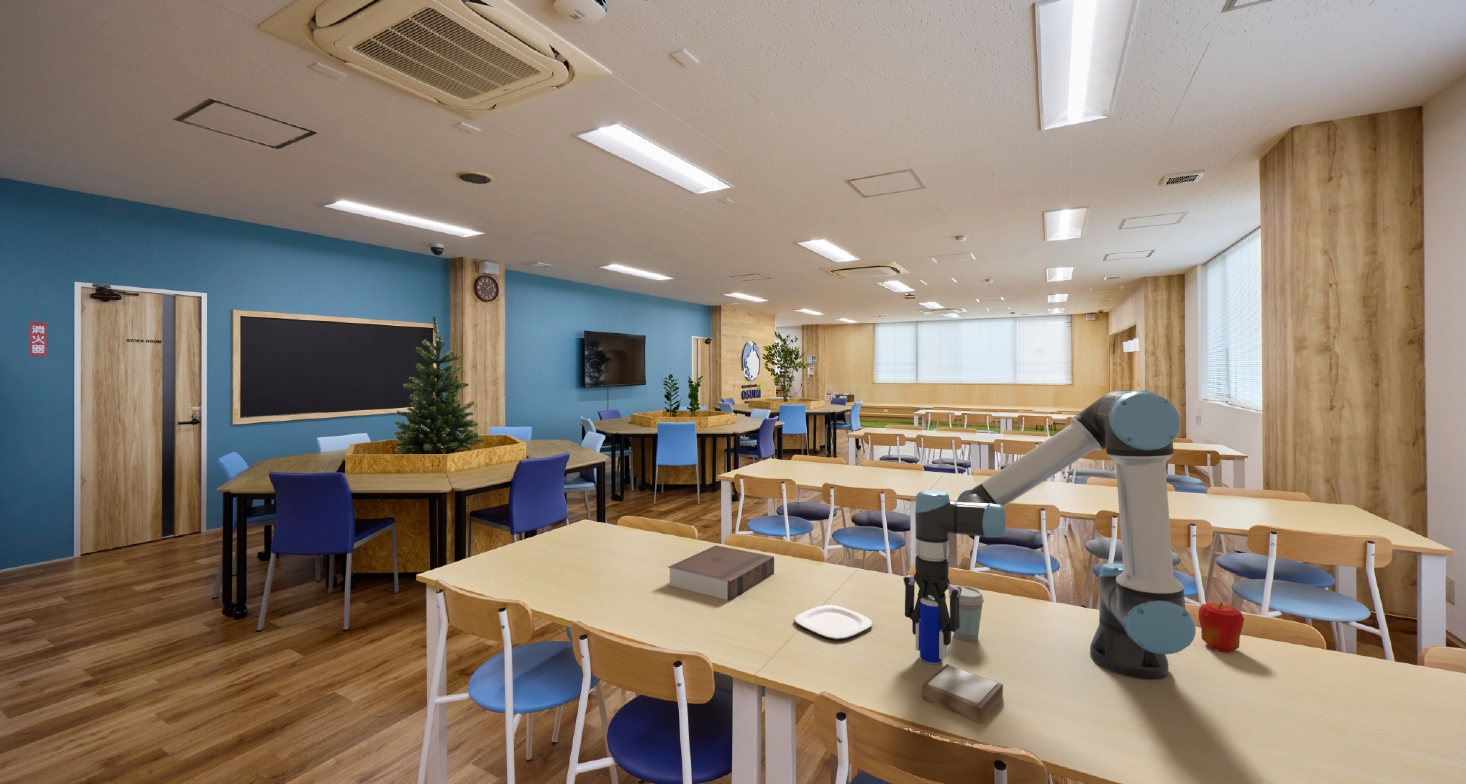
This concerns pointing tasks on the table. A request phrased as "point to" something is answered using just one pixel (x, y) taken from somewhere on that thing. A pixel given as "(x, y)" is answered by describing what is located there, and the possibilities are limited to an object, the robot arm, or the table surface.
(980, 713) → the stand
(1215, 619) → the apple
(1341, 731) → the table surface
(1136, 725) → the table surface
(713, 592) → the book
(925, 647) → the beverage can
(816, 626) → the plate
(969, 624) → the coffee cup
